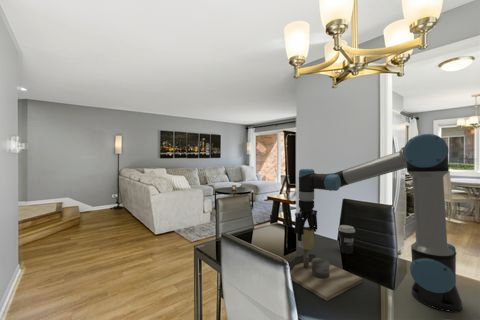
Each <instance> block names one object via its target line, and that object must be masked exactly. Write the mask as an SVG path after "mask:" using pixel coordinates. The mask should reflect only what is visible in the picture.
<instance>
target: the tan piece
mask: <svg viewBox="0 0 480 320" xmlns="http://www.w3.org/2000/svg"><path fill="white" fill-rule="evenodd" d="M302 234H303V235H304V237H303V248H301V247H299V248H300V249H303V250H304V249H309V250H313V249H314V248H315V247H314V245H315V232H314V229H313V228H311V227H309V226H304V229H303V233H302Z"/></svg>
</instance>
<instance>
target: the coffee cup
mask: <svg viewBox="0 0 480 320" xmlns="http://www.w3.org/2000/svg"><path fill="white" fill-rule="evenodd" d="M337 230H338V236H339V247H340V248H339V249H340V252H341V253H342V254H345V255H346V254H347V255H351V254H353V252H354V241H355V233H356V229H355V227H354V226H352V225H349V224H348V225H347V224H341V225H339V226H338V228H337Z"/></svg>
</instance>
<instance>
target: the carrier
mask: <svg viewBox="0 0 480 320" xmlns="http://www.w3.org/2000/svg"><path fill="white" fill-rule="evenodd" d="M316 255H317V254H316V253H315V252H310V249H303V253H302V252H301V253H299V254H296V255H294V256H292V257H290V259H289V260H288V261H287V264H288V263H289V266H290V270H291V277H292V280H291V281H292V282H294V283H296V284H297V285H299V286H301V287H303V288H304V289H306V290H308V291H309V292H311V293H313V294H314V295H316V296H317V297H320V298H321V299H322V300H325V301H326V302H328V301H330V300H331V299H334V298H335V297H338V296H339V295H341V294H343V293H345V292H346V291H347V292H348V291H349V290H350V289H352V288H355V287H356V286H358V285H360V284H361V283H364V279H363V277H361V276H358V275H356V274H353V273H351V272H349V271H346V270H345V269H342V268H340V267H338V266H335V265H333V264H330V261H329V260H328V259H326V258H323V257H317V256H316Z"/></svg>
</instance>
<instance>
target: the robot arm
mask: <svg viewBox="0 0 480 320" xmlns="http://www.w3.org/2000/svg"><path fill="white" fill-rule="evenodd" d="M449 167H450V166H449V146H448V144H447V142H446V140H444V139H443V138H442V137H441V136H439V135H437V134H433V133H421V134H417V135H415V136H413V137H411V138H410V139H408V141H407V142H406V143H405V145H404V146H403V147H401V148H400V150H398V151H396V152H394V153H391V154H387V155H384V156H382V157H379V158H375V159H372V160H370V161H366V162H364V163H361V164H357V165H355V166H351V167H349V168H345V169H343V170H340V171H337V172H332V173H316V172H315V170H314V169H313V168H301V169H299V171H298V207H299V211H298V212H295V213H294V215H295V220H294V229H293V230H294V234H297V244H298V245H297V247H298V248H300V247H301V248H300V249H302V248H303V237H304V235H303V234H302V233H303V229H304V227H305V224H306V222H307V224H308V227H311V228H313V229H314V233H315V232H316V233H317V230H318V217H317V216H318V215H317V214H318V210H316V209H314V208H315V190H322V191H323V190H324V191H330V192H331V191H332V192H333V191H335V192H337V191H339V189H340V188H342V187H345V186H348V185H351V184H355V183H359V182H362V181H363V182H364V181H366V180H370V179H373V178H376V177H379V176H383V175H386V174H390V173H394V172H397V171H400V170H404V169H406V173H408V174H409V175H410V176H411V177H412V178H411V179H412V190H413V191H412V193H413V196H412V197H413V210H414V228H415V229H414V230H415V242H414V243H412V244H411V246H410V247H411V252H410V253H411V263H410V266H409V271H410V275H411V277H412V279H413V280H414V281H413V284H412V286H411V295H412V294H413V295H412V296H413V297H414V298H415V299H416V298H417V299H418V300H419V301H418V300H417V299H416V300H417V301H418V302H420V301H421V302H420V303H422V302H423V303H425V304H427V305H426V306H428V305H430V306H433V307H435V308H438V309H437V310H439V309H443V310H449V311H457V312H459V311H458V310H460V311H462V309H463V300H462V298H461V296H460V294H459V290H458V288H457V286H456V285H457V284H456V283H457V282H456V281H457V279H456V277H457V276H456V275H457V271H456V268H457V266H456V265H457V263H456V261H457V259H456V257H457V252H456V251H457V250H456V249H457V248H456V247H455V245H453V244H450V243H448V235H447V232H448V231H447V221H446V220H447V217H446V201H445V199H446V198H445V184H444V183H445V182H444V176H446V175H447V174H448V173H449V171H450V170H449ZM423 303H422V304H423ZM425 304H424V305H425ZM430 306H429V307H430ZM433 307H432V308H433ZM435 308H434V309H435ZM461 308H462V309H461ZM443 310H442V311H443ZM449 311H448V312H449Z"/></svg>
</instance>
